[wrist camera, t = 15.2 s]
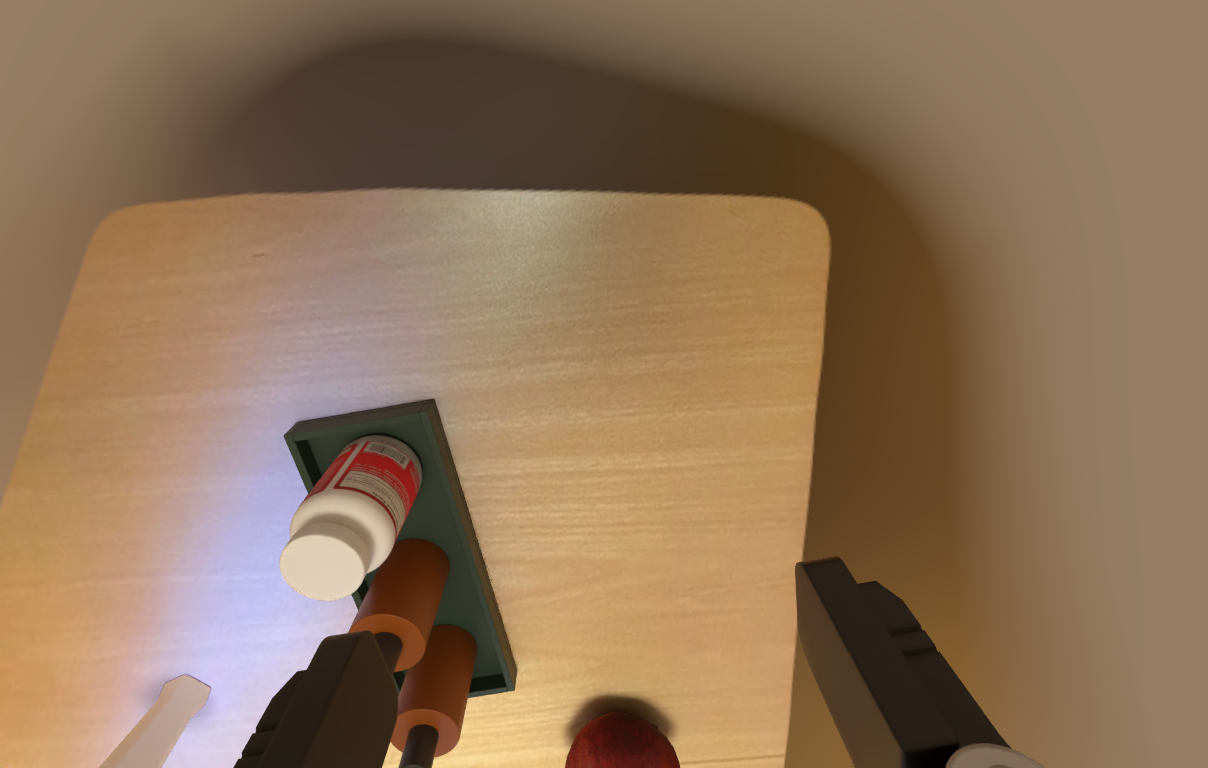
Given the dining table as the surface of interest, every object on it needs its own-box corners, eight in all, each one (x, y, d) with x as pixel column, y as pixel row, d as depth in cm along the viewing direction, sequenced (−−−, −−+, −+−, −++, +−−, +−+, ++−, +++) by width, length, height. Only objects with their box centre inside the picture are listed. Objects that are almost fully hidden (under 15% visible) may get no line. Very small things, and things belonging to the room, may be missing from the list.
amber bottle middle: (395, 594, 47) (344, 717, 37) (375, 544, 45) (316, 658, 35) (457, 584, 47) (423, 704, 37) (439, 533, 45) (399, 645, 35)
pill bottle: (353, 508, 44) (285, 617, 34) (328, 437, 41) (247, 532, 31) (433, 497, 44) (389, 604, 34) (413, 426, 41) (359, 517, 31)
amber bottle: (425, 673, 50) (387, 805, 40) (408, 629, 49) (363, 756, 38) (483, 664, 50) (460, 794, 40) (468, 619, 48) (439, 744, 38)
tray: (406, 688, 52) (400, 709, 50) (296, 422, 42) (282, 435, 40) (517, 670, 52) (515, 690, 50) (434, 398, 41) (427, 411, 39)
